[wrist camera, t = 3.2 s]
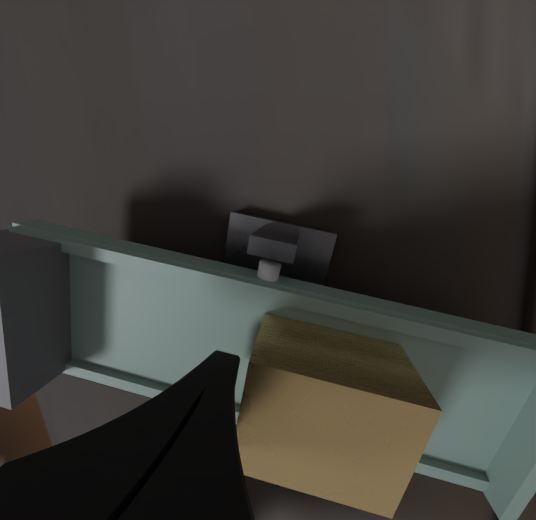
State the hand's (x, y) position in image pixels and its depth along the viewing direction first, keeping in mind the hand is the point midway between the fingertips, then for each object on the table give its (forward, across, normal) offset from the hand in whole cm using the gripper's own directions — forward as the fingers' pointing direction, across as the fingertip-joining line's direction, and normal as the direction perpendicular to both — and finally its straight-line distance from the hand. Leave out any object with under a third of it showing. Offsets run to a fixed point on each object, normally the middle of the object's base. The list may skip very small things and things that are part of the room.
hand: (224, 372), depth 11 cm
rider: (+2, -4, 0) cm, 4 cm away
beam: (+2, -1, 0) cm, 2 cm away
